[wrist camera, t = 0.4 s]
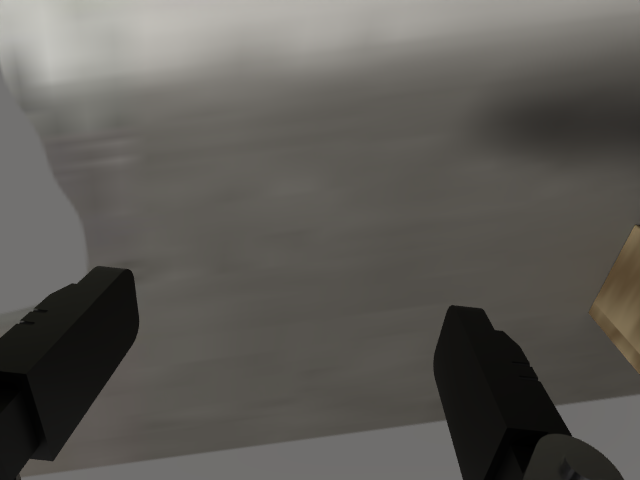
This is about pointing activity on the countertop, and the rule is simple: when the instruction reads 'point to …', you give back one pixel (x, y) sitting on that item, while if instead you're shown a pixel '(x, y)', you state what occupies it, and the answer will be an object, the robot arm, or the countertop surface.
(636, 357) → the divided wooden crate
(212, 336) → the countertop surface
